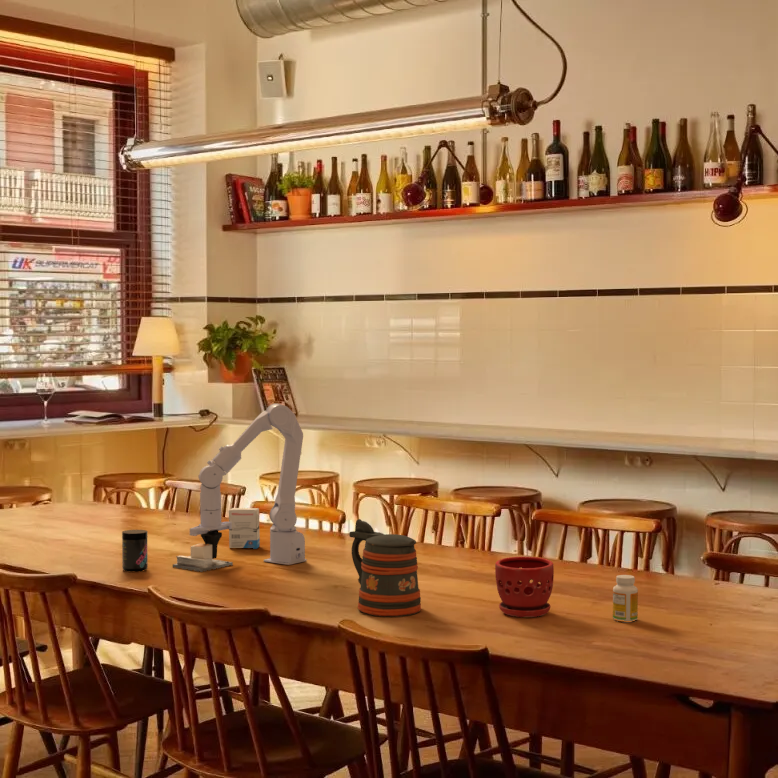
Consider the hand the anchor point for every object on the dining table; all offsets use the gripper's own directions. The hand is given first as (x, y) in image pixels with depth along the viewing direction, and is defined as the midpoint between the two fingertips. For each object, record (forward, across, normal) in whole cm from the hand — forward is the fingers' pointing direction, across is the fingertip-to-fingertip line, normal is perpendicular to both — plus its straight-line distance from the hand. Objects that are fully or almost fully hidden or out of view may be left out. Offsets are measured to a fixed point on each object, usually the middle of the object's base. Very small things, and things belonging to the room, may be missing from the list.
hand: (211, 558), depth 325 cm
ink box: (+2, -25, -11) cm, 28 cm away
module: (+1, +4, 0) cm, 4 cm away
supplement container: (+2, +18, -11) cm, 21 cm away
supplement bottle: (+3, -7, +120) cm, 120 cm away
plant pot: (+2, +1, +99) cm, 99 cm away
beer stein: (+2, +16, +70) cm, 72 cm away
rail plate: (+2, +3, 0) cm, 4 cm away
